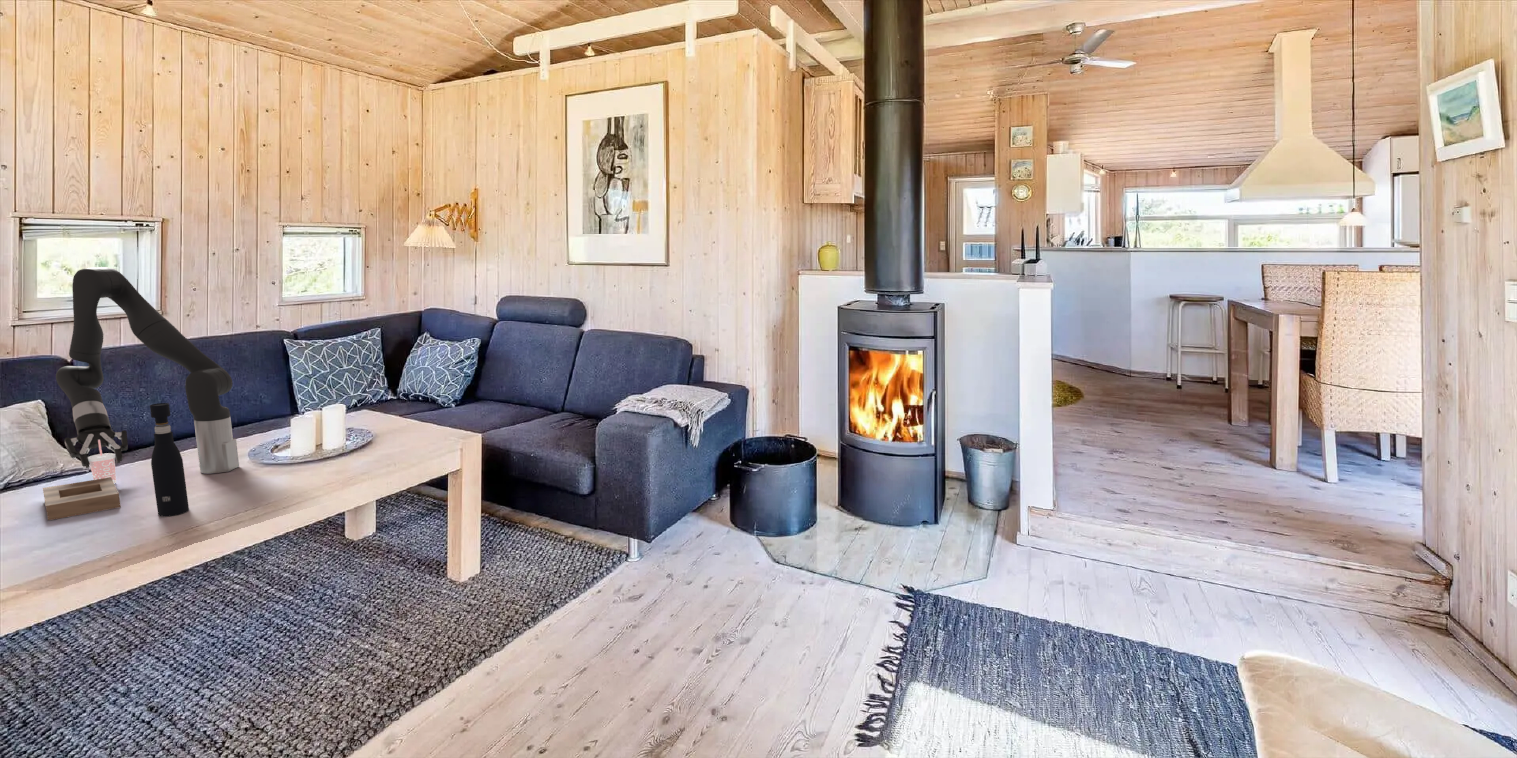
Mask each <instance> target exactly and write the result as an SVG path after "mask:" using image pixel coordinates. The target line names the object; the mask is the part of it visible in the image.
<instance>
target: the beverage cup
mask: <svg viewBox="0 0 1517 758" xmlns="http://www.w3.org/2000/svg"><path fill="white" fill-rule="evenodd" d="M98 444H99V447H98V451H99V453H98V454H93V455H90V456H87V457H88V461H89V468H90V470H91V475H92V480H96V479H103V478H109V477H111V478H112V480H113V482H114V483H116V484H117V474H116V461H115V460H116V458H115V457H116V456H115V454H114V453H112V452H108V453H107V452H106V453H103V450H102V447H101V443H100V440H98Z"/></svg>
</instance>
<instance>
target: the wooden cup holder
mask: <svg viewBox="0 0 1517 758" xmlns="http://www.w3.org/2000/svg"><path fill="white" fill-rule="evenodd" d="M42 491H43V492H42V493H43V499H44V504H45V510H46V516H47V521H52V520H58V519H63V518H68V517H74V516H80V515H85V514H91V513H97V512H101V511H108V510H114V509H118V508H121V506H122V505H121V500H120V494H119V491H118V489H117V487H116V484H114V482H113V480H112V478H111V477H109V478H103V479H96V480H94V479H91V480H86V481H78V482H73V483H65V484H61V485H60V484H59V485H54V486H48V487H47V486H46V487H42Z"/></svg>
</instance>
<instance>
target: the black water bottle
mask: <svg viewBox="0 0 1517 758" xmlns="http://www.w3.org/2000/svg"><path fill="white" fill-rule="evenodd" d="M149 409H150V417H151V418H153V419H154V422H155V426H154V432H155V433H153V438H154V447H153V448H152V449H153V450H152V453H151V458H150V459H151V460H150V466H151V472H152V480H153V487H154V488H153V489H154V494H155V502H156V509H157V515H158V516H159V517H163V518H164V517H166V518H167V517H175V516H178V515H183V514H185V513H187V512H189V511H190V507H189V506H190V505H189V498H188V491H187V490H188V489H187V483H186V475H185V468H184V460H183V457H182V454H181V452H180V450H179V448H178V447H177V445H176V443H175V441H174V433H173V431H171V430H172V427H171V425H170V424H169V421H168V420H169V419H168V417H170V416H171V409H170V403H169V402H160V403H159V402H158V403H153V404H150V405H149Z"/></svg>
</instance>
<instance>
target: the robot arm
mask: <svg viewBox="0 0 1517 758" xmlns="http://www.w3.org/2000/svg"><path fill="white" fill-rule="evenodd" d="M104 298H106V299H107V298H108V299H110V300H111V301H112V302H113V303H115V304H116V305H117V306H118V307H119V308H120V309H121V310H122V311H124V313H125V315H126V317H127V321H128V324H129V327H130V330H131V332H132V334H133V335H134V336H135V337H136V338H137V339H138V340H139V341H140V342H141V343H142V344H143V345H144V346H146V348H148V349H149V350H150V351H152V352H154V353H155V354H157V355H159V356H161V357H163V358H165V359H168V360H170V361H172V362H173V363H175V364H178V365H180V366H182V367H183V368H185V369H186V370H187V371H188V372H189V374H188V375H187V377H186V378H185V382H184V388H185V394H186V399H187V400H186V401H187V405H188V410H189V412H190V413H191V415H192V417H193V423H194V424H193V425H194V430H195V433H194V434H195V440H196V448H197V457H198V463H199V464H198V466H199V471H200V473H201V474H208V475H210V474H218V473H225V472H226V473H229V472H231V471H233V470H235V469H236V468H238V467H240V462H239V452H238V446H237V444H238V443H237V438H233V437H234V436H233V428H232V427H233V426H232V419H231V412H230V409H229V407H226V406H223V405H222V404H221V400H220V397H219V396H221V395H225V394H227V393H228V392H230V391H232V388H233V378H232V377H231V375H230V373H229V372H228V371H226V370H225V369H224V368H223V367H221V366H220V365H219V364H218V363H216V361H214V360H212V359H211V358H210V357H208V356H207V355H206V354H204V353H203V352H202V351H201V350H200V349H199V348H198V347H197V346H196V345H195V344H193V343H192V342H191V341H190V340H189V339H188V338H187V337H186V336H184V335H183V333H181V331H180V330H178V329H177V328H176V327H175V326H174V325H173V323H171V322H170V321H169V320H167V318H166V317H164V316H163V315H162V314H161V313H160V312H159V311H158V310H157V309H156V308H154V307H153V306H152V305H151V304H150V303H149V302H148V301H147V300H146V299H145V298H144V296H143V295H142V294H140V293H139V291H138V290H137V289H136V288H135V287H134V285H132V283H131V282H130V281H129V279H128V278H126V276H125V275H124V274H122V273H121V272H120V271H119V270H117V269H115V268H112V267H87V268H81V269H79V270H77V271H76V272H75V273H74V275H73V278H72V308H73V309H72V312H73V329H72V336H71V340H70V346H69V351H68V356H69V358H70V359H71V360H74V361H77V362H80V363H81V362H82V363H86V364H88V366H85V365H83V366H79V365H76V366H75V365H66V366H62V367H60V368H59V369H58V370H57V371H56V374H55V380H56V383H57V386H59V388H60V390H62V392H63V393H64V394H65V395H66V396H67V398H68V399H69V402H70V405H71V408H72V418H73V423H74V425H75V428H76V434H77V436H76V437H72V438H70V437H65V438H64V445H65V447H66V450H67V451H68V454H69V456H70V458H71V459H75V458H79V459H80V462H81V466H82V467H84V468H86V469H89V468H90V463H89V461H88V457H89V456H88V454H89V452H90V450H92V449H97V448H98V449H99V444H98V440H100V443H101V448H107V449H108V450H111V451H112V452H114V454H115V456H116V457H115V460H116V461H115V463H116V464H120V463H121V462H122V461H123V459H124V458H123V453H122V452H123V451H127V450H128V444H129V443H128V442H129V441H128V432H127V430H125V429H124V430H121V431H118V432H116V431H114V430H113V429H112V426H111V423H110V418H109V415H108V411H107V409H106V407H105V405H104V401H103V397H102V394H101V392H100V391H99V390H97V388H99V387H101V386H102V385H103V383H104V373H103V368H102V363H101V354H102V349H103V345H104V344H103V343H104V331H103V328H102V325H101V324H100V321H99V318H98V315H97V313H98V311H97V310H98V305H99V302H100V299H104ZM115 437H116V438H118V440H121V444H120V445H119V444H117V443H116V441H115V440H114V439H115ZM77 442H78V443H79V444H81V445H82V447H81V449H80V450H79V451H77V450H76V448H75V446H76V443H77Z"/></svg>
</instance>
